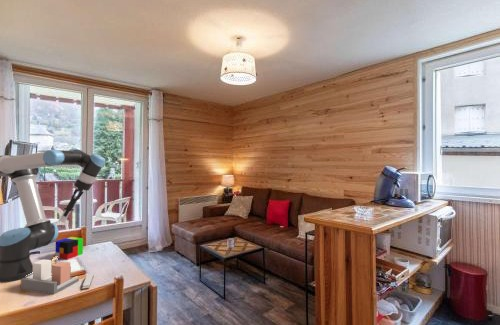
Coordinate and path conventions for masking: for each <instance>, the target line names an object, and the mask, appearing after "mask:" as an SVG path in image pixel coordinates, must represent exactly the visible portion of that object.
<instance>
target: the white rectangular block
mask: <svg viewBox="0 0 500 325" xmlns="http://www.w3.org/2000/svg"><path fill="white" fill-rule="evenodd" d="M32 265H33V273H32V278H31V279H39V280H46V279H48V278H50V277H51V275H52V265H53V264H52V259H44V258H43V259H40V260H39V261H35V262H32Z"/></svg>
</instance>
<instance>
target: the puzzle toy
mask: <svg viewBox="0 0 500 325" xmlns="http://www.w3.org/2000/svg"><path fill="white" fill-rule="evenodd" d="M83 247H84V238H81V237H76V236H75V237H74V236H70V237H66V238H63V239H60V240H55V255H56V256H58V257H59V258H58V259H62V260H71V259H73V258H77V257H78V256H81V255H83V254H84V248H83ZM55 255H54V256H55Z"/></svg>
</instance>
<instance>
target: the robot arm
mask: <svg viewBox="0 0 500 325" xmlns="http://www.w3.org/2000/svg"><path fill="white" fill-rule="evenodd" d="M105 162H106V158H104V157H103V156H102V155H101V156H100V155H99V154H96V153H92V154H91V155H90V154H88V153H86V152H84V151H83V150H81V149H78V148H76V147H75V148H74V147H73V148H70V149H68V150H66V149H65V150H61V149H48V150H46V151H43V152H42V151H41V152H35V153H28V154H21V155H8V154H7V155H5V154H4V155H0V177H3V178H4V177H10V180H11V182H13V183H15V186H16V189H17V193H18V197H19V199H20V202H21V207H22V211H23V215H24V218H25V222H26V224H25V225H24V226H23V227H18V228H12V229H10V230H7V231H4V232H2V234H0V283H9V282H14V281H19V280H21V279H22V278H24V277H25V276H26V275H28V274H30V273H32V272H33V262H32V261H31V256H30V254H31V251H34V250H36V249H39V248H42V247H46V246H48V245H50V244H53V243H54V242H56V241H57V238H58V237H59V227H58V226H57V225H56V224H55V223H52V222H51V219H48V218H47V217H46V214H45V209H44V206H43V202H42V198H41V195H40V191H39V188H38V184H37V182H36V179H37V178H38V176H39V175H38V174H39V173H40V171H41V168H46V167H53V166H66V165H67V166H71V165H72V166H74V165H75V166H79V167H81V168H82V170H81V172H80V173H79V176H78V178H77V179H76V181H75V182H74V186H75V188H76V189H74V191H73V194H72V196H71V199H70V200H69V202H68V204H67V206H66V207H64V208H63V210H64V211H63V213H62V214H61V215H60V217H59V219H58V221H59V222H61V223H66V221H67V219H68V217H69V216H70V214H71V212H72V211H74V209H73V208H74V207H75V206H76V203H77V202H78V201H79V200H80V199H81V196H82V195H83V194H84V191H90V189H91V187H92V185H93V184H94V182H95V181H97V176H98V175H99V174H100V171H102V170H101V169H103V167H104V165H105ZM32 274H33V273H32ZM25 278H26V277H25Z"/></svg>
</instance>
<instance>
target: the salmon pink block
mask: <svg viewBox="0 0 500 325" xmlns="http://www.w3.org/2000/svg"><path fill="white" fill-rule="evenodd" d="M71 274H72V268H71V261H69V262H68V261H62V260H61V261H60V262H56V263H55V264H52V273H51V275H52V281H54V282H57V285H60V284H62V283H64V282H66V281H68V280H70V277H71V276H72V275H71Z"/></svg>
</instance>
